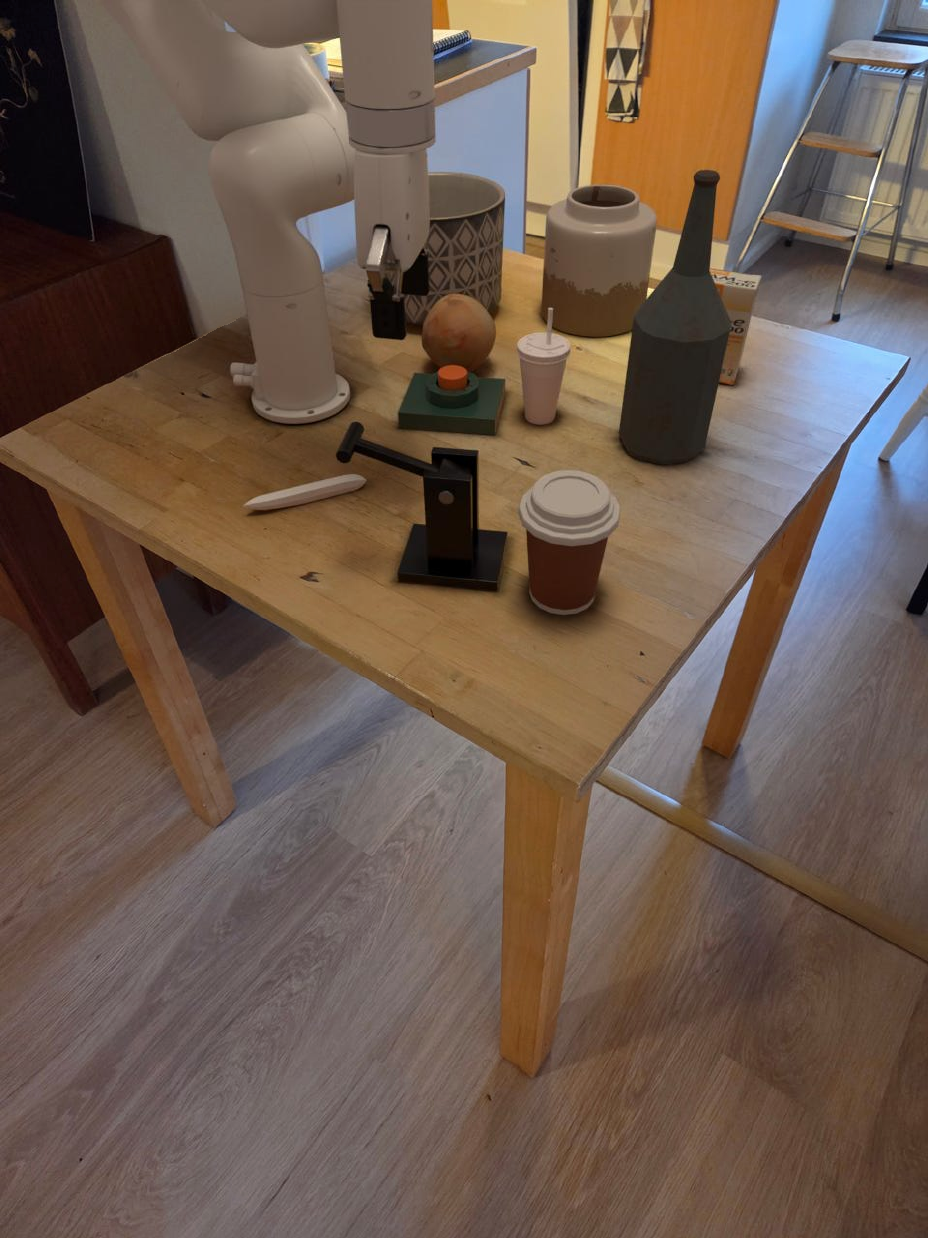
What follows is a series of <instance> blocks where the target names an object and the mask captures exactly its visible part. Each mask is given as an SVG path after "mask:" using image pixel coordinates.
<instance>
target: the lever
mask: <svg viewBox="0 0 928 1238" xmlns="http://www.w3.org/2000/svg"><path fill="white" fill-rule="evenodd" d="M364 432H365V427H364V425H363V424H362V423H361V422H359V421H352V422H351V423H349V426H348V428H347V429H346V431H345V434H344V436H343V437H342V438H343V439H341V442H340V444H339V446H338V448H337V451H336V452H335V458H336V460H337V461H338V462H339V463H341V464H343V465H344V464H349V463H351V461H352V459H353V456H354V454H355V453H356V454H358V455H362V456H363V457H366V458H370V459H372V460H376V461H378V462H381V463H384V464H385V465H389V466H392V467H394V468H396V469H400V470H402V471H405V472H408V473H411V474H414V475H416V476H419V477H422V478H423V475H424V472H425V471H433V472H446V473H458V474H470V471H471V468H469V467H466V466H464V465H461V464H458V463H455V462H453V461H450V460H447V459H445V458H443V460H442V463H441V466H440V467H439V466H436V465H433V464H432V463H430V462H428V461H425V460H423V459H419V458H417V457H414V456H412V455H408V454H406V453H403V452H400V451H397V450H395V449H392V448H389V447H387V446H384V445H381V444H380V443H379V444H378V443H376V442H374V441H371V440H368V439H365V438H362V437H363V434H364Z"/></svg>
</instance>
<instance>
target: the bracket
mask: <svg viewBox="0 0 928 1238" xmlns="http://www.w3.org/2000/svg"><path fill="white" fill-rule="evenodd" d="M479 453H480V451H479V450H478V449H468V448H467V449H465V448H453V447H440V446H439V447H438V446H432V448H431V451H430V461H431V463H430V464H433V465H436V466H439V467H440V466H441V463H442V460H443V458H445V459H447V460H450V461H453V462H455V463H458V464H461V465H464V466H466V467H469V468H471V471H470V474H458V473H446V472H433V471H425V472H424V475H423V477H422V486H423V487H422V488H423V503H424V504H423V505H424V521H425V523H413V524H412V527H411V529H410V532H409V536H408V539H407V542H406V545H405V547H404V551H403V554H402V556H401V557H402V558H401V560H400V563H399V566H398V569H397V573H396V574H397V582H398V583H399V582H400V583H401V582H402V583H411V584H421V585H428V586H429V585H430V586H440V587H451V588H460V589H470V590H480V591H481V590H482V591H492V592H498V590H499V585H500V580H501V574H502V571H503V570H502V569H503V564H504V561H505V560H504V559H505V554H506V549H507V544H508V534H509V533H508V531H506V530H505V531H504V530H492V529H481V528H480V500H479V499H480V495H479V494H480V489H479V487H480V484H479V483H480V482H479V480H480V479H479V478H480V474H479V471H480V469H479V466H480V465H479V464H480V463H479V460H480V459H479V455H480V454H479Z"/></svg>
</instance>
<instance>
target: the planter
mask: <svg viewBox="0 0 928 1238" xmlns="http://www.w3.org/2000/svg"><path fill="white" fill-rule="evenodd" d="M428 177H429V198H430V228H429V235H428V238H427V243H428V250H427V254H422V255H428V265H429V293H428V295H427V296H418V295H406V294H401V297H404V299H405V318H406V324H410V325H411V324H412V325H417V326H423V325H424V322H425V319H426V317H427V315H428V313H429V311H430V310H431V308H432V307H433V306H434V305H435V304H436V303H437V302H438V301H439V300H440V299H441V298H442V297H444V296H446V295H449V294H462V295H466V296H469V297H471V298H473V299H475V300H476V301H478V302H479V303H480V304H481V305H482V306H483V307H484V308H485V309H486V310H487V311H488V313H489V314H490V313H492V312H493V311H494V310H495V309H496V308H497V307H498V306H499V304H500V301H501V299H502V298H501V297H502V281H503V259H504V258H503V256H504V234H505V231H504V230H505V209H506V192H505V189H504V187H502V185H500V184H499V183H497V182H496V181H494V180H491V179H489V178H487V177H484V176H480V175H475V174H470V173H462V172H453V171H452V172H451V171H433V172H432V171H428ZM385 263H397V262H396V260H390V259H386V261H385ZM385 278H389V280H390V282H391V283H392V285H393V280H394V274H393V273H385Z"/></svg>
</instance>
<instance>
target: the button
mask: <svg viewBox="0 0 928 1238" xmlns="http://www.w3.org/2000/svg"><path fill="white" fill-rule="evenodd" d="M437 372H438V386H439V388H441V389H444V390H450V391H456V390H461V389H464V388H466V387H467V370H466V369H465V368H463V367H461V366H457V365H449V366H444V367H442V368H439V369H438V371H437Z"/></svg>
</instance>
